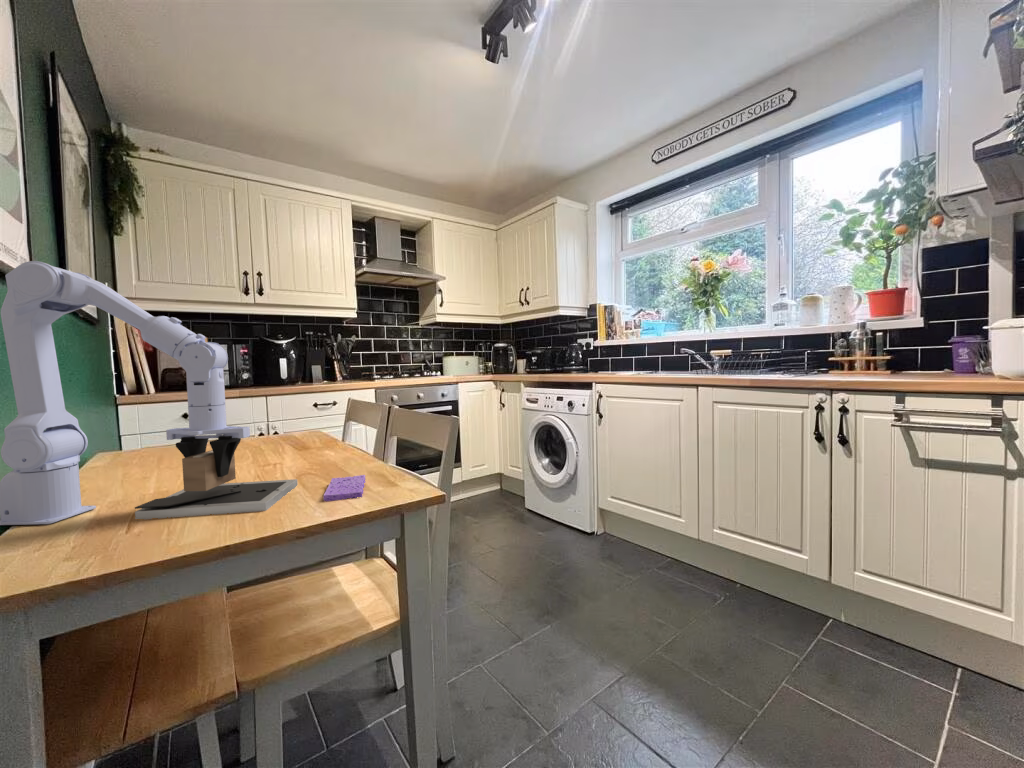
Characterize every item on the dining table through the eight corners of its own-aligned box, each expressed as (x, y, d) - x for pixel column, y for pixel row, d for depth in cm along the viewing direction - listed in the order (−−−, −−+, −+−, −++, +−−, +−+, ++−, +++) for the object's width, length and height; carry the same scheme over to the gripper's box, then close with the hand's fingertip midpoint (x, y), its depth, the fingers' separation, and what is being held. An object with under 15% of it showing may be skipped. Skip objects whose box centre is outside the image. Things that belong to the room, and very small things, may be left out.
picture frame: (135, 523, 70) (266, 514, 73) (134, 507, 70) (265, 498, 73) (192, 495, 85) (297, 488, 89) (191, 481, 85) (297, 475, 89)
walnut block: (215, 479, 82) (214, 448, 82) (235, 478, 82) (234, 448, 82) (184, 491, 74) (182, 457, 74) (206, 490, 74) (204, 457, 74)
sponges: (365, 482, 92) (365, 474, 91) (362, 500, 80) (362, 490, 79) (331, 486, 89) (331, 477, 89) (323, 504, 77) (323, 494, 77)
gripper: (150, 408, 73) (154, 482, 74) (230, 406, 73) (234, 480, 74) (181, 404, 80) (185, 472, 81) (255, 403, 80) (258, 470, 81)
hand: (211, 475), depth 78 cm, fingers closed on walnut block, 4 cm apart
